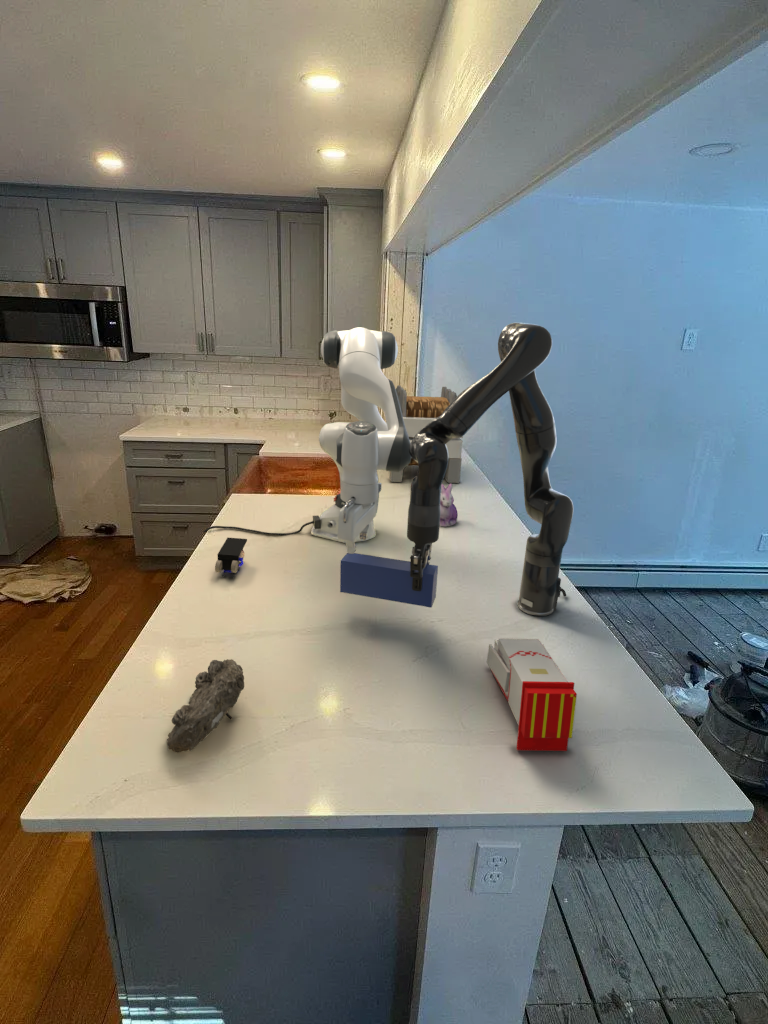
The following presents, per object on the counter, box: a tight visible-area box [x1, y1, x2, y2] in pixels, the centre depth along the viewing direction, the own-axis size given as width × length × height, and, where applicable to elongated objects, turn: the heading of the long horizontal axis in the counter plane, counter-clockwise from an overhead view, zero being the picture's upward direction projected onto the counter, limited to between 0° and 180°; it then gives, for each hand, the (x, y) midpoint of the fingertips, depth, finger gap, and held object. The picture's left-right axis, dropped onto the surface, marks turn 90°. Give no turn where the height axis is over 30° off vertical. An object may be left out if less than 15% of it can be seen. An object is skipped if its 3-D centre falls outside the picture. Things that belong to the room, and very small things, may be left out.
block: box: [339, 552, 439, 608], centre depth 140 cm, size 23×6×9 cm, turn 74°
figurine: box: [440, 483, 459, 527], centre depth 210 cm, size 9×10×15 cm
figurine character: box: [214, 537, 248, 578], centre depth 166 cm, size 7×8×15 cm
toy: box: [486, 637, 578, 752], centre depth 114 cm, size 12×13×30 cm
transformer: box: [385, 384, 464, 484], centre depth 268 cm, size 34×33×41 cm
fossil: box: [166, 658, 245, 754], centre depth 106 cm, size 22×10×15 cm
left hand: (357, 545), depth 139 cm, fingers open, 8 cm apart
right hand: (419, 584), depth 138 cm, fingers closed on block, 5 cm apart
